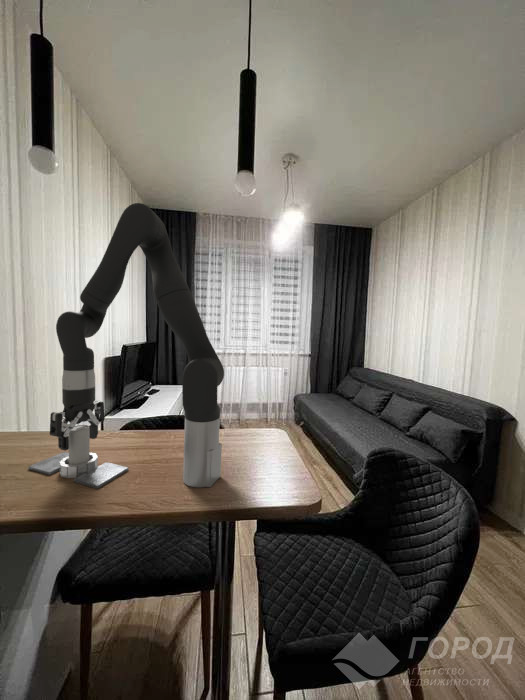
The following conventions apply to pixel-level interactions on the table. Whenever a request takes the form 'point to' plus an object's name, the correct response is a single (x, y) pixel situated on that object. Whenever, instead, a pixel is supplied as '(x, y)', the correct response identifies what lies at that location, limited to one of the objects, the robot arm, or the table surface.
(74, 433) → the beverage can
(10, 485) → the table surface
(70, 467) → the hinge model
